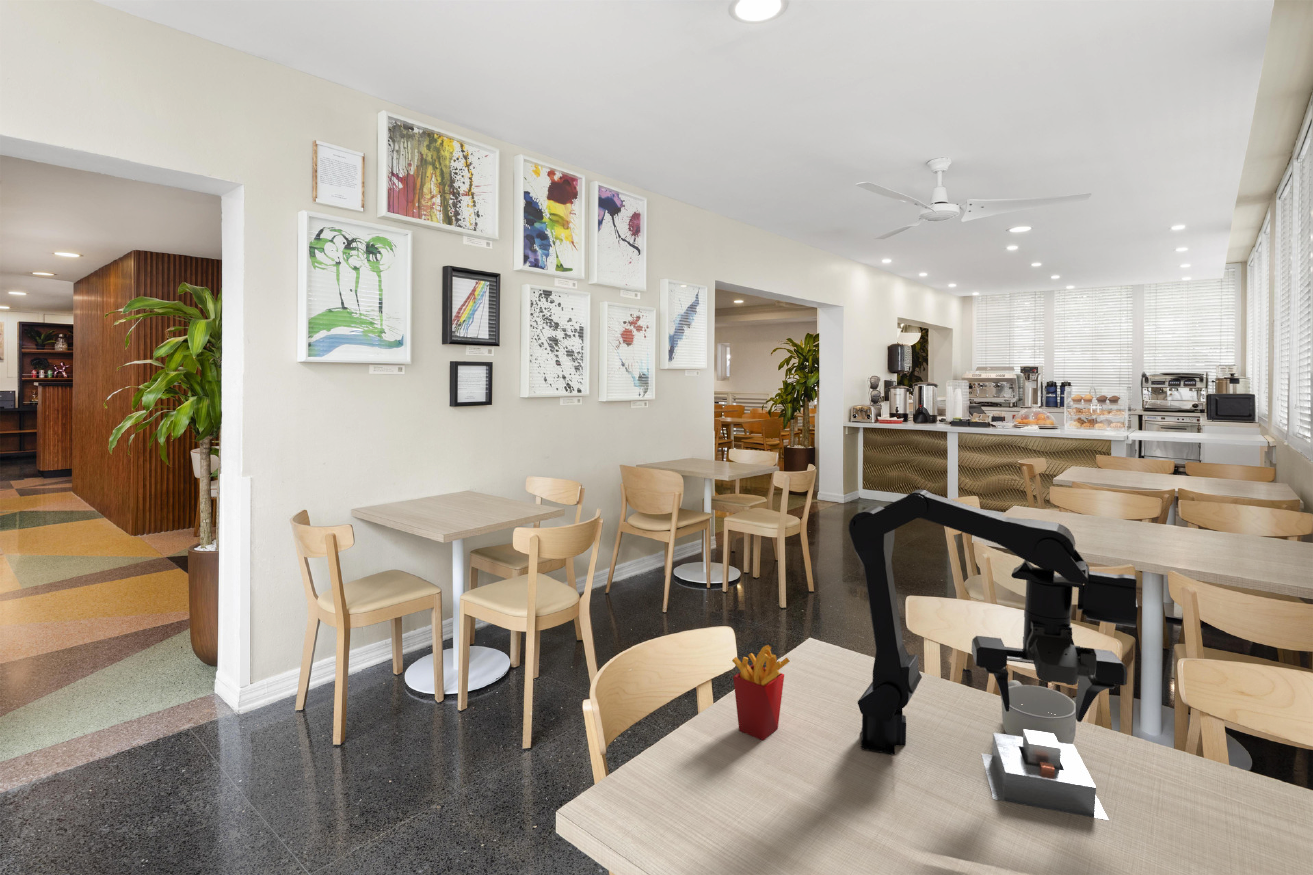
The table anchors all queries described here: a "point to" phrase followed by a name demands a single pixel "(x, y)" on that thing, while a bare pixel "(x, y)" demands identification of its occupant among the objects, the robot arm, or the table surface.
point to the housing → (1041, 779)
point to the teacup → (1039, 712)
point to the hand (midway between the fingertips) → (1042, 715)
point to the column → (1040, 748)
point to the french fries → (759, 693)
